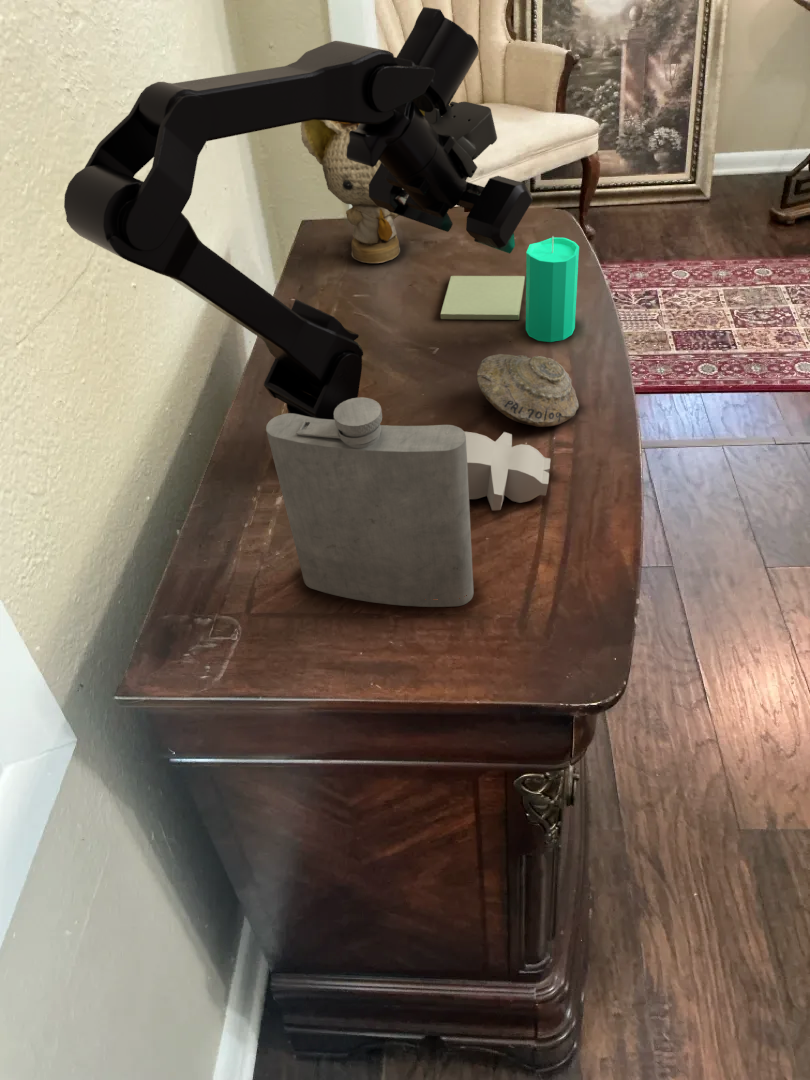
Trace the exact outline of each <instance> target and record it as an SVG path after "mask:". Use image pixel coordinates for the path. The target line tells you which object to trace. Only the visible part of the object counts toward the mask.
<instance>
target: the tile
mask: <svg viewBox="0 0 810 1080" xmlns="http://www.w3.org/2000/svg"><path fill="white" fill-rule="evenodd" d="M525 285H526V275H451V276H450V278H449V282H448V285H447V289H446V292H445V296H444V300H443V302H442V303H443V304H442V307H441V309H440V310H441V311H440V319H441V320H476V321H477V320H480V321H481V320H484V321H485V320H487V321H489V320H490V321H519V320H520V315H521V308H522V303H523V296H524V290H525Z"/></svg>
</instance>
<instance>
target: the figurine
mask: <svg viewBox="0 0 810 1080" xmlns="http://www.w3.org/2000/svg"><path fill="white" fill-rule="evenodd" d="M420 111H421V110H420ZM421 113H422V114H423V115H424V113H425V112H424V111H421ZM358 125H359V124H354V123H345V122H337V121H329V120H310V121H305V122H300V135H301V142H302V144H303V146H304V147H305V148H306V150H307V151H308V153H309V154H310V155H311V156H313V157H314V158H315V159H316V161H317V162H318V163H319V165H321V166H322V171H323V176H324V179H325V182H326V187H327V189H328V191H329V192H331V194H332V195H333V196H334V197H336V198H337V199H338V200H339V201H340V202H341V203H344V204H345V205H351V206H352V207H350V208H349V209H347V210H346V211H345V214H346V219H347V221H348V223H350V224H351V225H353V229H352V237H353V238H352V240H351V257H352V258H353V259H354V260H356V261H358V262H361V263H367V264H382V263H385V262H389V261H392V260H393V259H395V258H396V257H397V256H399V254H400V253H401V247H400V240H399V238H398V236H397V235H398V234H397V230H396V227H395V223H394V221H395V219H397V218H398V217H399V216H400V215H398V214H395V213H392V212H389V211H388V210H387V209H384V208H381V207H378V206H377V205H376V204H375V203H374V202H373V201H372V200H371V198H370V197H369V183H370V182H371V180H372V178H373V176H374V175H375V173H376V171H377V169H378V168H379V166H380V164H381V162H380V161H379V160H378V162H377V164H376V165H375V166H374V167H371V166H368V165H365V164H362V163H358V162H355V161H352V160H349V159H348V158H347V156H346V155H347V146H348V143H349V140H350V137H349V132H350V131H351V130H356V129H357V128H358Z"/></svg>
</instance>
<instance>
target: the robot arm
mask: <svg viewBox="0 0 810 1080" xmlns="http://www.w3.org/2000/svg"><path fill="white" fill-rule="evenodd" d="M479 52H480V51H479V45H478V43H477V41H476V39H475V38H474V36H473V35H472V34H469V33H468V32H466V30H465V29H464V28H462V27H461V26H460V25H459V24H457V23H456V22H454V21H453V20H451V19H449V18H448V17H445V15H444V13H443V11H442V10H441V9H440V8H434V7H427V6H423V7H422V9H421V11H420V12H419V14H418V16H417V18H416V20H415V22H414V26H413V28H412V29H411V31H410V33H409V35H408V36H407V38H406V40H405V42H404V43H403V45H402V47H401V49H400V50H399V52H398V54H397V55H396V57H395V55H394V53H393V52H391V51H390V50H386V49H381V48H376V47H372V46H367V45H362V44H357V43H352V42H348V41H342V40H333V41H329V42H327V43H325V44H323V45H320V46H317V47H315V48H313V49H310V50H308V51H307V50H306V51H305V52H304V53H303V54H302V55H301V56H300V57H299V58H298V59H297V60H296V61H294V62H292V63H289V64H287V65H284V66H276V67H270V68H263V69H257V70H251V71H244V72H237V73H232V74H231V73H230V74H224V75H219V76H211V77H206V78H205V77H204V78H200V79H192V80H185V81H180V82H165V81H157V82H153V83H151V84H150V85H148V86H146V87H145V88H143V90H142V91H141V92H140V94H139V96H138V97H137V99H136V101H135V102H134V104H133V106H132V107H131V110H130V111H129V113H128V114H127V115H126V116H125V117H124V118H123V119H122V120H121V121H120V122H119V123H118V124H117V125H116V126H114V128H113V129H111V131H109V133H107V134H106V135H105V136H104V137H103V138H102V139H101V140H100V141H99V143H98V144H96V146H95V148H94V150H93V152H92V154H91V155H90V157H89V158H88V161H87V162H86V164H85V166H84V168H82V169H81V170H79V171H78V172H77V173H75V174H74V176H73V177H72V178H71V179H70V180H69V182H68V183H67V187H66V190H65V193H64V199H63V200H64V202H63V203H64V204H63V208H64V213H65V216H66V217H65V218H66V222H67V224H68V226H69V227H70V229H72V230H73V231H74V232H75V233H76V234H77V235H78V236H79V237H81V238H84V239H85V240H87V241H88V242H91V243H93V244H94V245H97V246H98V247H101V248H102V249H104V250H106V251H108V252H110V253H112V254H114V255H116V256H118V257H120V258H121V259H124V260H125V261H127V262H130V263H132V264H135V265H137V266H139V267H142V268H145V269H146V270H149V271H152V272H154V273H157V274H159V275H162V276H165V277H168V278H170V279H171V280H172V281H174V282H176V283H177V284H179V285H180V286H182V287H183V288H185V289H186V290H187V291H188V292H191V293H192V294H194V295H196V296H197V297H198V298H200V299H201V300H202V301H204V302H206V303H207V304H209V305H210V306H211V307H213V308H215V309H216V310H217V311H219V312H221V313H222V314H224V315H225V316H227V317H228V318H230V319H232V320H233V321H234V322H236V323H237V324H239V325H240V326H242V327H243V328H244V329H246V330H247V331H249V332H251V333H252V334H254V335H255V336H256V337H258V338H260V339H261V340H262V341H263V342H264V343H265V345H266V347H267V349H268V351H269V353H270V355H272V356H273V358H274V359H273V362H272V365H271V367H270V369H269V371H268V373H267V376H266V378H265V380H264V382H263V386H264V388H265V389H266V391H267V392H268V394H269V395H270V396H271V397H272V398H274V399H277V400H278V401H279V400H280V401H281V402H283V403H284V404H286V409H287V413H293V414H299V415H303V416H308V417H313V418H318V419H330V420H334V410H335V408H336V407H337V406H338V405H339V404H340V403H342V402H344V401H346V400H348V399H352V398H359V391H360V385H361V377H362V369H363V356H364V350H363V348H362V347H361V345H360V344H359V343H358V342H357V341H356V340H357V339H358V338H359V336H360V335H359V334H358V333H356V332H353V331H352V330H350V329H348V328H345V327H344V325H343V324H342V323H341V322H340V321H339V320H338V319H337V318H336V317H335V316H333V315H331V314H329V313H327V312H325V311H323V310H320V309H319V308H317V307H314V306H312V305H310V304H308V303H307V302H304V301H302V300H299V299H297V298H295V300H294V302H293V305H292V307H291V308H290V307H288V306H287V305H286V304H284V303H283V302H282V301H280V300H279V299H278V298H277V297H275V296H274V295H273V294H271V293H270V292H268V291H267V290H266V289H265V288H263V287H262V286H260V285H259V284H257V282H255V281H254V280H252V279H251V278H250V277H248V276H247V275H246V274H244V273H243V272H242V271H240V270H239V269H237V268H236V267H235V266H234V265H232V264H231V263H229V262H228V261H227V260H225V259H224V258H223V257H221V256H220V254H218V253H216V252H215V251H214V250H212V249H211V248H210V247H209V246H207V245H205V244H204V243H203V242H202V241H201V239H200V238H199V237H198V236H197V235H198V234H197V233H196V231H195V229H194V228H193V226H192V224H191V222H190V221H189V219H188V218H187V217H186V216H185V215H184V214H183V211H184V209H185V207H186V205H187V204H188V202H189V201H190V199H191V196H192V193H193V187H194V182H195V175H196V170H197V164H198V159H199V156H200V154H201V152H202V150H203V149H204V147H205V145H206V143H207V142H210V141H216V140H220V139H226V138H230V137H235V136H240V135H246V134H249V133H255V132H261V131H264V130H269V129H274V128H279V127H280V128H281V127H284V126H289V125H294V124H301V122H305V121H310V120H329V121H337V122H345V123H354V124H359V125H358V128H357V129H356V130H351V131H350V132H349V137H350V140H349V143H348V146H347V155H346V156H347V158H348V159H349V160H352V161H355V162H358V163H362V164H365V165H368V166H371V167H374V166H375V165H376V164H377V162H378V160H379V161H380V162H381V164H380V166H379V168H378V169H377V171H376V173H375V175H374V176H373V178H372V180H371V182H370V183H369V197H370V198H371V200H372V201H373V202H374V203H375V204H376V205H377V206H378V207H381V208H384V209H387V210H388V211H389V212H392V213H395V214H398V215H399V216H401V217H403V218H406V219H410V220H412V221H415V222H418V223H420V224H424V225H427V226H429V227H432V228H435V229H438V230H441V231H443V232H447V233H448V232H450V230H451V229H452V227H453V225H454V224H453V221H452V219H451V217H450V215H449V213H448V212H449V210H452V209H454V208H455V207H456V206H458V207H461V208H464V209H467V210H470V211H469V212H468V214H467V216H466V223H465V225H466V226H465V231H466V232H467V234H468V235H469V236H470V237H472V238H473V240H474V242H475V243H478V244H481V245H484V246H487V247H489V248H492V249H495V250H498V251H501V252H504V253H506V254H511V253H512V252H513V250H514V249H515V247H516V240H515V231H516V230H517V228H518V226H519V224H520V223H521V221H522V219H523V217H525V214H526V212H527V211H528V209H529V207H530V206H531V204H532V202H533V201H534V200H533V195H532V193H531V191H530V190H529V188H528V186H527V185H526V183H524V182H522V181H518V180H515V179H512V178H508V177H505V176H501V175H496V176H492V177H489V178H488V180H487V182H486V184H485V186H482V185H479V184H475V183H472V182H469V181H467V180H468V178H470V179H471V178H473V177H474V175H475V172H476V171H477V170H478V166H477V164H476V163H475V162H474V161H475V160H476V159H477V158H479V156H480V155H481V154H483V152H484V151H485V150H486V149H487V148H488V147H490V145H492V146H493V145H494V144H495V143H496V142H497V140H498V135H497V131H496V125H495V122H494V121H495V120H494V118H493V117H494V116H493V112H492V109H491V107H489V106H486V105H482V104H477V103H474V102H469V101H460V102H456V101H452V100H453V98H455V97H454V96H455V95H456V94H457V91H458V90H459V88H460V86H461V85H462V84H463V83H462V82H463V81H464V80H465V77H466V76H467V74H468V73H469V71H470V69H471V67H472V65H473V64H474V62H475V61H476V59H477V57H478V56H479ZM420 110H421V111H424V112H425V113H424V115H423V114H422V113H421V111H420ZM150 161H152V165H151V168H150V170H149V171H148V174H147V175H146V176H145V179H144V180H141V179H138V178H136V177H135V176H136V174H138V172H139V171H140V170H142V169H143V168H144V167H145V166H146V165H147V164H148V163H149V162H150Z"/></svg>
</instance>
